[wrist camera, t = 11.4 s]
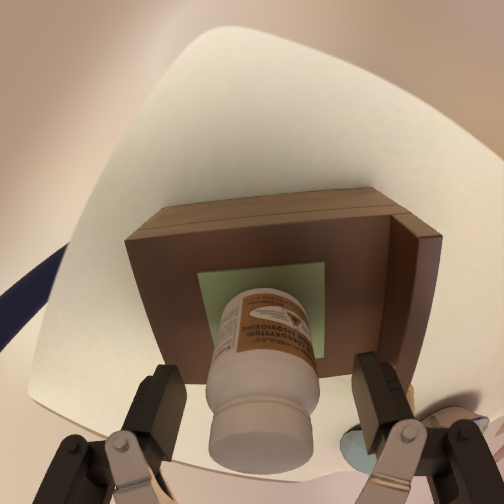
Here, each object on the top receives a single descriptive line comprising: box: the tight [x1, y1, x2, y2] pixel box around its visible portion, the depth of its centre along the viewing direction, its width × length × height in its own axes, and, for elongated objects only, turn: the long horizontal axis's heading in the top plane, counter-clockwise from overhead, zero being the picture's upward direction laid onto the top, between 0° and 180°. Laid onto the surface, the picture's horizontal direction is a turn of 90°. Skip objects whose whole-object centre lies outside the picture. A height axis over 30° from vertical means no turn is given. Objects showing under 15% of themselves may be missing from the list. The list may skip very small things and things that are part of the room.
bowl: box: [421, 406, 489, 434], centre depth 27 cm, size 13×13×5 cm
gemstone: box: [340, 430, 377, 475], centre depth 28 cm, size 8×8×5 cm
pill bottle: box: [206, 288, 320, 475], centre depth 12 cm, size 4×4×8 cm
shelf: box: [125, 188, 443, 395], centre depth 17 cm, size 14×10×9 cm
